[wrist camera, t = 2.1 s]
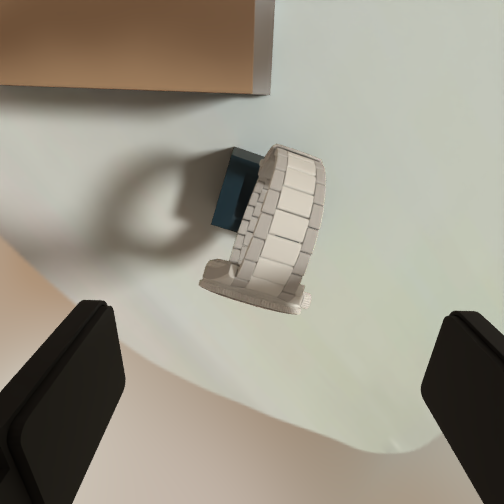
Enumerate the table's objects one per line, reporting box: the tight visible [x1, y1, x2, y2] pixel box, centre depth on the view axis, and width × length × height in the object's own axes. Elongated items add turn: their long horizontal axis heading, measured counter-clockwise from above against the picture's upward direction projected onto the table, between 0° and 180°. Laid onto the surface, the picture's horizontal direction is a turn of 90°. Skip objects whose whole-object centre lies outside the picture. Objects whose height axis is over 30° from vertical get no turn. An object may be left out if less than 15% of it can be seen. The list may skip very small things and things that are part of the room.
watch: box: [199, 144, 326, 315], centre depth 17 cm, size 6×8×11 cm
